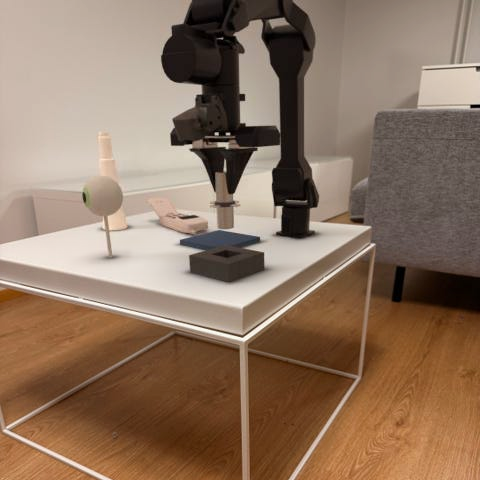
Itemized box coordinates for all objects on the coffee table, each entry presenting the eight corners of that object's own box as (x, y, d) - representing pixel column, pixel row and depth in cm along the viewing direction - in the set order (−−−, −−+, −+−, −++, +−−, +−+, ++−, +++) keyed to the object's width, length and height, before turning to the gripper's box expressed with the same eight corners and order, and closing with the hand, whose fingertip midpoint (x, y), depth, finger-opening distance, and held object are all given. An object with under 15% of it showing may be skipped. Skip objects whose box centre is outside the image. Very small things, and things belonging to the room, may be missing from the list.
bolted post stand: (224, 222, 82) (222, 169, 79) (250, 226, 79) (249, 170, 75) (200, 228, 78) (197, 172, 75) (226, 233, 74) (224, 174, 71)
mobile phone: (165, 195, 124) (213, 206, 104) (167, 218, 126) (215, 233, 107) (144, 198, 121) (189, 210, 101) (147, 221, 123) (191, 237, 104)
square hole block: (226, 260, 85) (225, 244, 84) (264, 269, 80) (264, 252, 79) (189, 272, 79) (188, 255, 78) (229, 282, 74) (228, 264, 72)
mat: (219, 234, 106) (219, 229, 106) (260, 241, 99) (260, 236, 98) (179, 244, 98) (179, 239, 97) (221, 253, 90) (221, 248, 90)
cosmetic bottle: (120, 230, 112) (109, 132, 103) (98, 230, 113) (84, 132, 105) (131, 225, 117) (121, 131, 109) (110, 225, 119) (98, 132, 110)
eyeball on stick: (85, 256, 90) (73, 175, 84) (120, 250, 94) (111, 173, 88) (100, 264, 85) (88, 179, 79) (136, 257, 89) (127, 175, 83)
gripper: (138, 89, 70) (149, 195, 76) (230, 79, 59) (234, 205, 65) (192, 91, 78) (198, 187, 84) (282, 83, 67) (281, 195, 73)
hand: (224, 193), depth 76 cm, fingers closed on bolted post stand, 3 cm apart
